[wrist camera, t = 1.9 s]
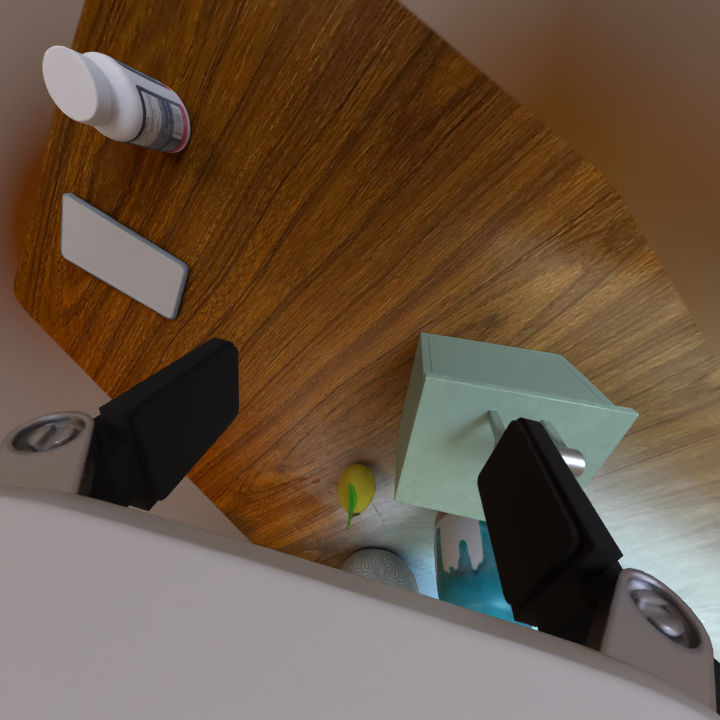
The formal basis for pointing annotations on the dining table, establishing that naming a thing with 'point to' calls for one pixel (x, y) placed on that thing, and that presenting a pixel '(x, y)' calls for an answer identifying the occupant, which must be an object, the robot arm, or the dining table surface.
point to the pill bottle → (116, 99)
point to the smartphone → (121, 257)
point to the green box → (489, 374)
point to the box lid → (494, 438)
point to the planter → (381, 568)
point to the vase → (468, 566)
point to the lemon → (356, 489)
